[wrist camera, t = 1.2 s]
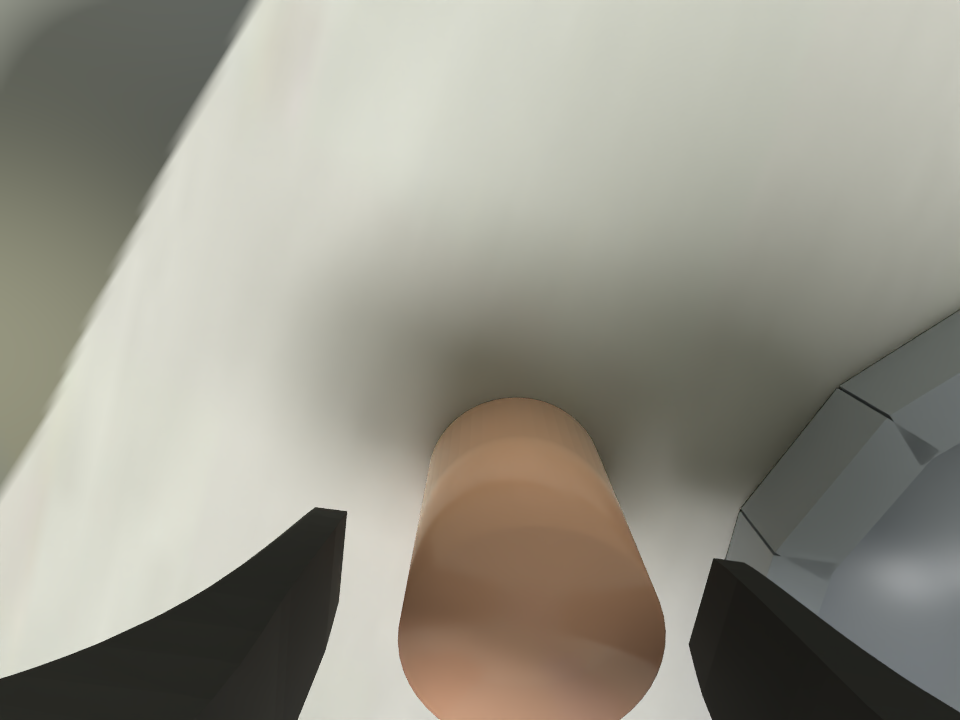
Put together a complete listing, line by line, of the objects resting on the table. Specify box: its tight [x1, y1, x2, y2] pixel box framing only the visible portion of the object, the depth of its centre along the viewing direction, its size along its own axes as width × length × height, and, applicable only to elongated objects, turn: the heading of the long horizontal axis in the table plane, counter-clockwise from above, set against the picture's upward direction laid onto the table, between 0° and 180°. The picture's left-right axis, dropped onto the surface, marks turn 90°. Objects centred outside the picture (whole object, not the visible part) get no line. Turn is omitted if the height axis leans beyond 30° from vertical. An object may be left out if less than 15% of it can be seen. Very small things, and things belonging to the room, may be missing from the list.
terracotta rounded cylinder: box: [398, 397, 666, 720], centre depth 13 cm, size 4×4×6 cm
